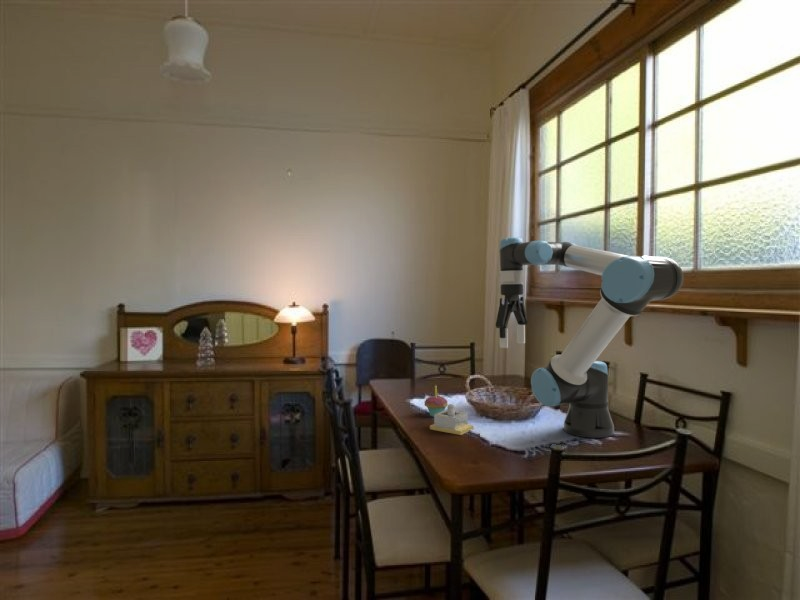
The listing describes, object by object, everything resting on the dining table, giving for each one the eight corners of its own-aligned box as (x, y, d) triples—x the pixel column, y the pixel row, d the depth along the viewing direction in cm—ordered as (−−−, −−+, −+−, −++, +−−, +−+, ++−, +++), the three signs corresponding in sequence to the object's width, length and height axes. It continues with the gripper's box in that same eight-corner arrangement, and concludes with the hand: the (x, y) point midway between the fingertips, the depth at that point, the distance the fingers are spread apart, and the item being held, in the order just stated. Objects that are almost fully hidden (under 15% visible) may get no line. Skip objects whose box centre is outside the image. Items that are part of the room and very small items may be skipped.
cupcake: (448, 418, 181) (448, 385, 181) (425, 418, 181) (424, 385, 181) (446, 412, 190) (446, 380, 189) (424, 412, 190) (423, 380, 190)
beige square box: (467, 424, 168) (467, 412, 168) (455, 430, 162) (454, 417, 162) (447, 420, 173) (447, 409, 173) (434, 426, 167) (434, 414, 167)
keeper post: (473, 429, 167) (472, 403, 167) (461, 435, 161) (460, 408, 160) (442, 423, 174) (442, 399, 174) (429, 429, 168) (429, 404, 168)
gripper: (516, 283, 184) (517, 341, 185) (484, 284, 164) (485, 349, 165) (536, 282, 179) (537, 342, 180) (505, 283, 160) (506, 350, 160)
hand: (512, 345), depth 172 cm, fingers open, 13 cm apart
